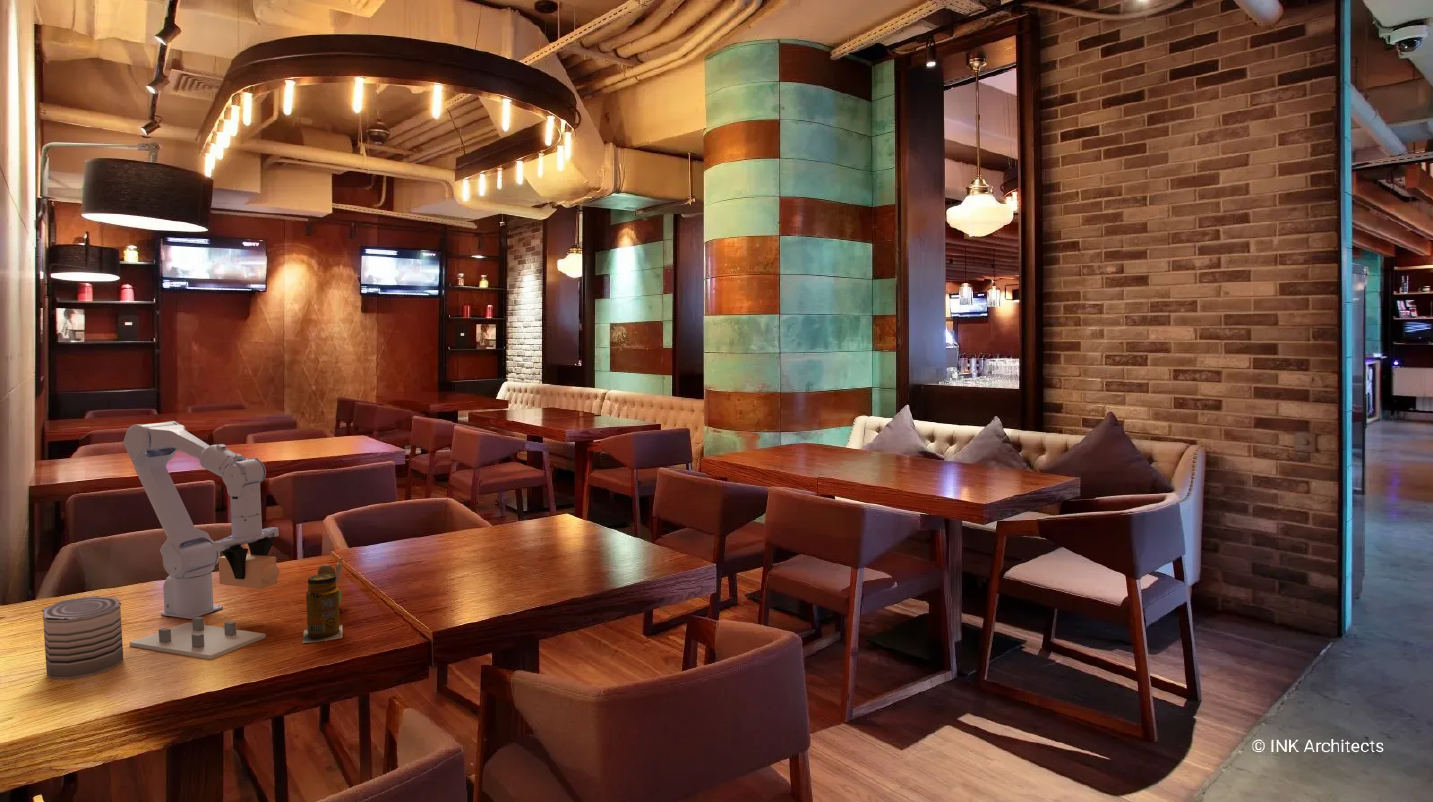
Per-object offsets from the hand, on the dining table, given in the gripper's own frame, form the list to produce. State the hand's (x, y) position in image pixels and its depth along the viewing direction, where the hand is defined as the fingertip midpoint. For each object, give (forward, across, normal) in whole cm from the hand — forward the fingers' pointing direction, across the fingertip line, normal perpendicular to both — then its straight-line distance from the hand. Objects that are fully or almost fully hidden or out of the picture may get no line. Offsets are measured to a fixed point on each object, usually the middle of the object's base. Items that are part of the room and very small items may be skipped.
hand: (249, 575), depth 172 cm
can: (+10, -30, +6) cm, 32 cm away
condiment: (+10, -4, -24) cm, 26 cm away
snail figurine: (+10, +10, -13) cm, 19 cm away
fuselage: (+2, 0, 0) cm, 2 cm away
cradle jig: (+9, -14, -2) cm, 17 cm away
